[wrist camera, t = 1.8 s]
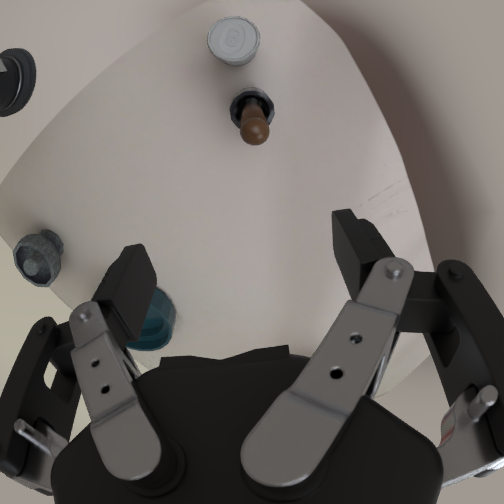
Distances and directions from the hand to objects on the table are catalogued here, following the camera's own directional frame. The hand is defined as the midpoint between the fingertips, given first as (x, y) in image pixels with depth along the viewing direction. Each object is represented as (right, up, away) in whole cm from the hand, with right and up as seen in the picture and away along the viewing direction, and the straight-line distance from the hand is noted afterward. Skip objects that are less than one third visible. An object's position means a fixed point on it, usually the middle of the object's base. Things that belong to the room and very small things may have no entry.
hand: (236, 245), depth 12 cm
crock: (+1, +19, +23) cm, 30 cm away
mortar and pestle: (-36, +2, +34) cm, 50 cm away
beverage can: (-1, +25, +19) cm, 32 cm away
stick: (+1, +19, +23) cm, 29 cm away
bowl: (-21, -11, +43) cm, 49 cm away
